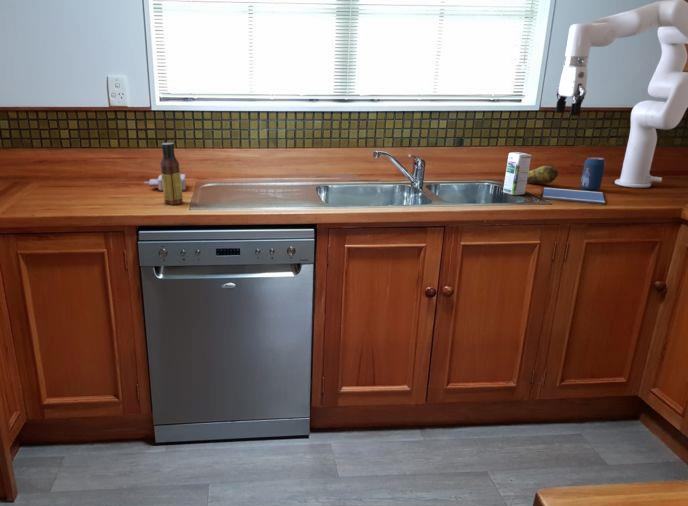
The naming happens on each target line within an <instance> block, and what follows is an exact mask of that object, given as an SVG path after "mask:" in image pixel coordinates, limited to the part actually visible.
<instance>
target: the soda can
mask: <svg viewBox="0 0 688 506" xmlns="http://www.w3.org/2000/svg"><path fill="white" fill-rule="evenodd" d="M605 161H606V160H605V158H604V157H600V156H588V157H587V159H586V160H585V161H584V165H583V169H582V175H581V180H580V185H579V186H580V189H581V191H592V192H599V191H600V189H601V186H602V182H603V177H604V172H605V168H606V162H605Z"/></svg>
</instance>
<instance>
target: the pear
mask: <svg viewBox="0 0 688 506" xmlns="http://www.w3.org/2000/svg"><path fill="white" fill-rule="evenodd" d="M558 176H559V171H558V169H557V168H556V167H554V166H553V165H542V166H540V167H537V168H534V169H532V170H531V169H530V170H529V172H528V178H527V184H533V185H538V186H539V185H540V186H541V185H546V184H551V183H552V182H554V181H555V180H556V178H557V177H558Z"/></svg>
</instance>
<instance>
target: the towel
mask: <svg viewBox="0 0 688 506" xmlns="http://www.w3.org/2000/svg"><path fill="white" fill-rule="evenodd" d="M542 200H550V201H563V202H572V203H583V204H584V203H585V204H593V205H595V204H597V205H606V200H605V197H604V193H603V192H602V191H597V192H592V191H583V190H580V189H566V188H555V187H554V188H553V187H543V192H542Z"/></svg>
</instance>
